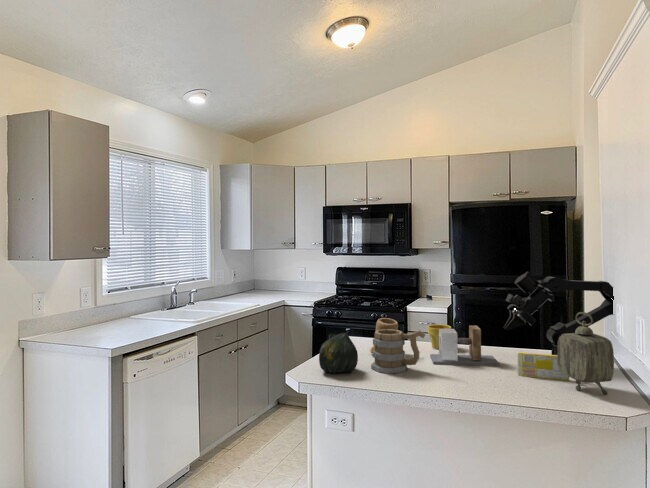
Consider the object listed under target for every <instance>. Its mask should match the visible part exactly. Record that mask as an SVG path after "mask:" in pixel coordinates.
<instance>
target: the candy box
mask: <svg viewBox="0 0 650 488" xmlns="http://www.w3.org/2000/svg"><path fill="white" fill-rule="evenodd" d="M517 376H518V377H519V376H521V377H528V378H529V377H530V378H539V379H548V380H558V381H566V382H569V381H570V377H569V376H567V375H565V374H563V373H561V372H560V371H559V368H558V358H557V355H552V354H547V353H545V354H544V353H533V352H531V353H530V352H523V351H522V352H521V351H520V352H519V351H518V352H517Z"/></svg>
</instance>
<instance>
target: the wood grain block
mask: <svg viewBox="0 0 650 488" xmlns="http://www.w3.org/2000/svg"><path fill="white" fill-rule="evenodd" d="M457 343H458V345H468V346H469V347H468V353H469V354H468V355H470V357H471V358H472V359H473V360H480V361H481V355H482V330H481V328H480V327H479V326H478V325H468V337H457Z"/></svg>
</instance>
